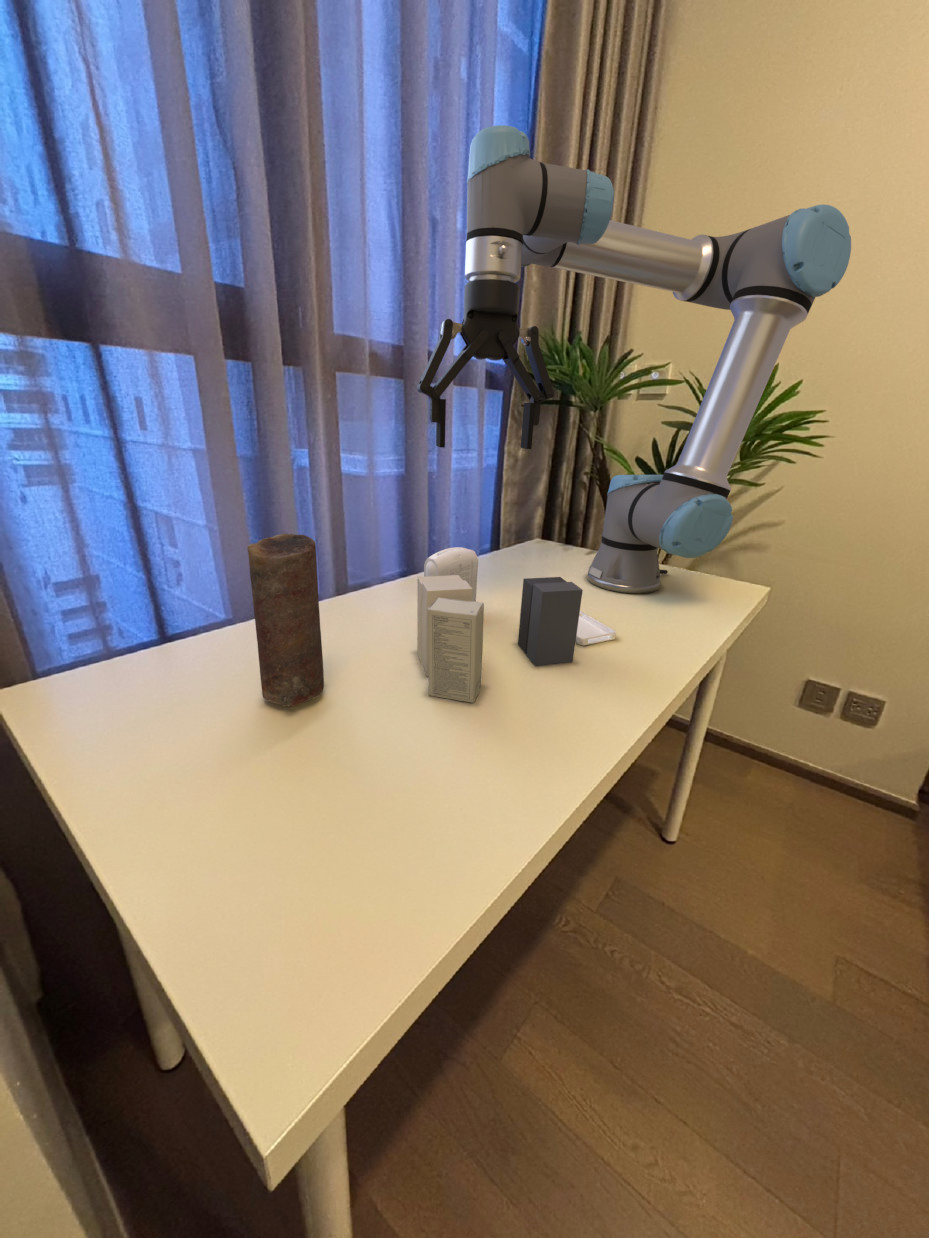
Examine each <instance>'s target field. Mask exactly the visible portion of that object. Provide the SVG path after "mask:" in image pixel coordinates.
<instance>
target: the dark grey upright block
mask: <svg viewBox="0 0 929 1238" xmlns="http://www.w3.org/2000/svg"><path fill="white" fill-rule="evenodd" d="M583 591H584V590H583V589H582V588H581V587H580V586H578V585H577V584H576V583H575V582H573V581H566V579H564V578H563V577H561V576H548V577H529V578H523V581H522V591H521V602H520V614H519V624H518V637H517V646H518V647H519V648H520V650H521V651H522V652H523V653H524V655H526V657H527V658H528V660H529V661H530V662H531V663H532V665H533V666H534V667H542V666H553V665H562V664H563V665H564V664H573V663H574V655H575V649H576V635H577V628H578V620H579V615H580V611H581V607H582V606H581V605H582V598H583Z"/></svg>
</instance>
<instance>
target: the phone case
mask: <svg viewBox="0 0 929 1238" xmlns="http://www.w3.org/2000/svg"><path fill="white" fill-rule="evenodd" d="M616 635H617V631H616V630H614V629H613V628H612V627H609V626H608V625H606V624H604V623H603V622H601V621H599V620H598V619H596V618H594V617H592V616H590V615H589V614H587V613H585V612H584V611H582V610H580V613H579V620H578V628H577V635H576V642H575V644H577V645H579V646H588V645H593V644H597V643H598V644H599V643H603V642H608V641H612V640H613V641H614V640H616Z"/></svg>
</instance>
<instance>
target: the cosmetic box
mask: <svg viewBox="0 0 929 1238" xmlns="http://www.w3.org/2000/svg"><path fill="white" fill-rule="evenodd" d="M484 617H485V603H484V602H483V601H482V602H481V601H476V602H473V601H465V600H456V599H447V598H438V599H437V600H436V601H435V602H434V603H433V604H432V605H431V606H430V607H429V608H428V671H429V676H428V696H431V697H437V698H441V699H448V700H453V701H460V702H467V703H475V700H476V699H477V697H478V695H479V693H480V690H481V688H482V678H483V677H482V675H483V652H484V651H483V650H484V648H483V647H484V646H483V645H484V621H485V620H484Z"/></svg>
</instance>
